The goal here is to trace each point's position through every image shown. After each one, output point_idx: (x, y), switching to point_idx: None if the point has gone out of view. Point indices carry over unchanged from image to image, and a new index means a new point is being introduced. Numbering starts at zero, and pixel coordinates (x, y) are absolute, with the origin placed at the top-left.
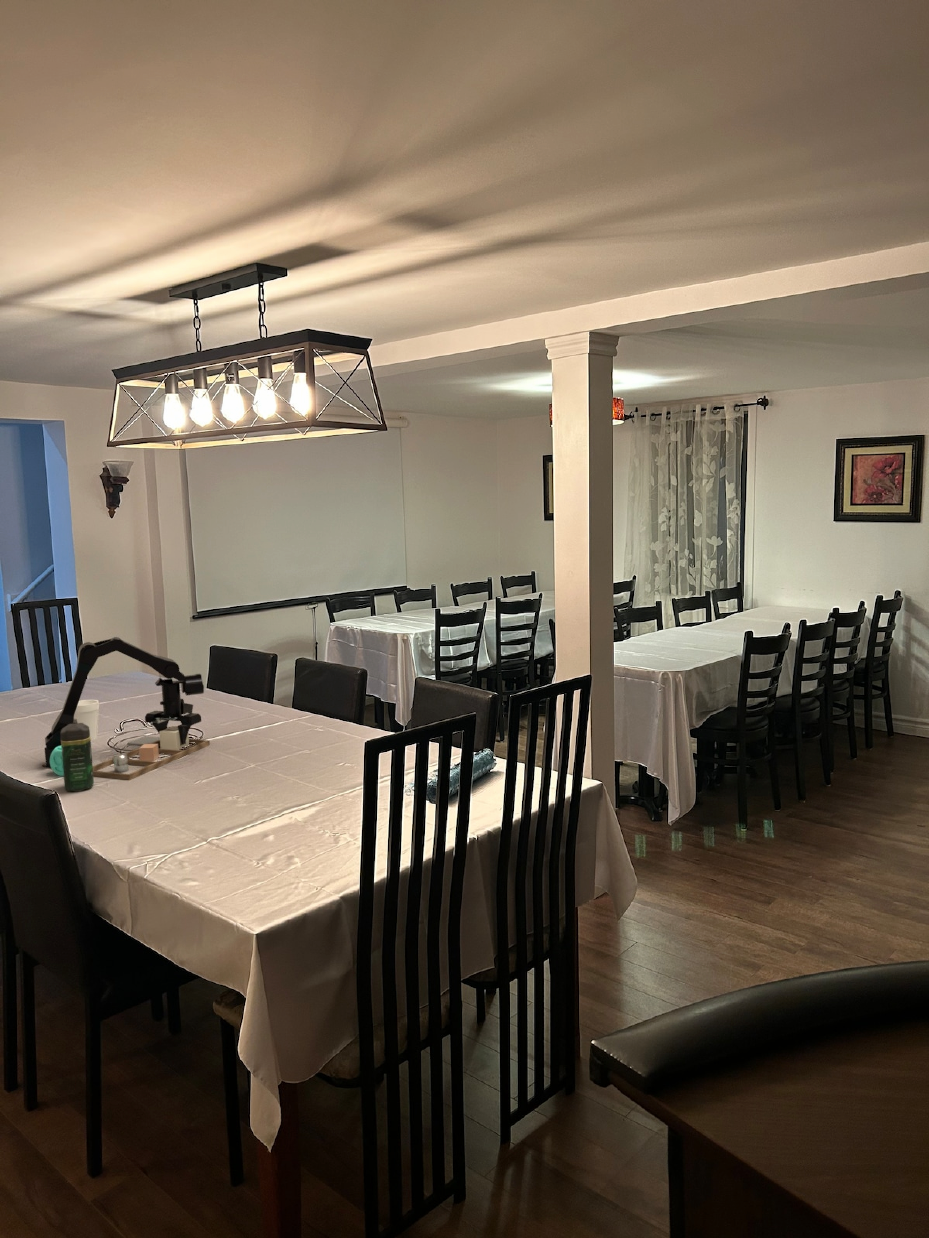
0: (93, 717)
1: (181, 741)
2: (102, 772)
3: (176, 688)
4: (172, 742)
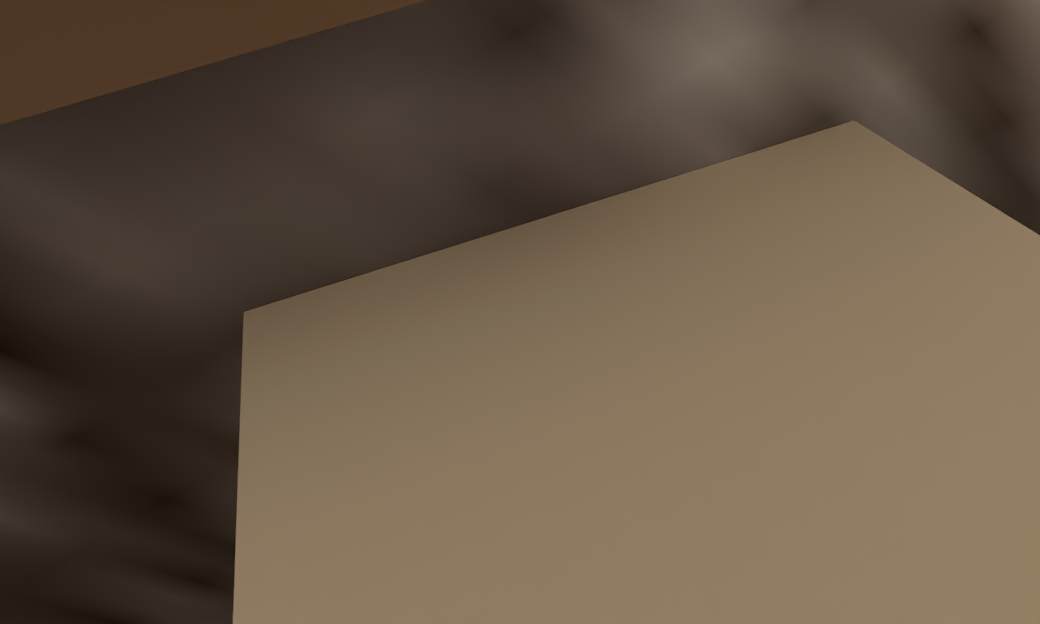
0: None
1: None
2: None
3: None
4: None
